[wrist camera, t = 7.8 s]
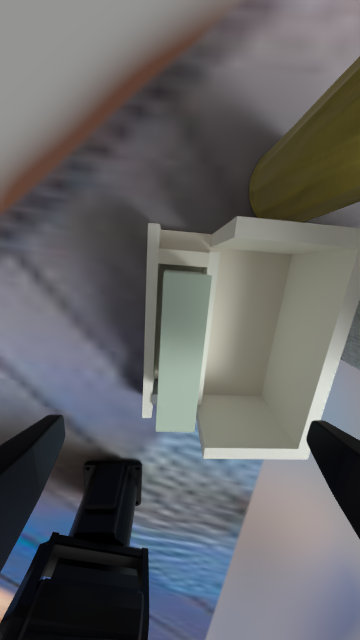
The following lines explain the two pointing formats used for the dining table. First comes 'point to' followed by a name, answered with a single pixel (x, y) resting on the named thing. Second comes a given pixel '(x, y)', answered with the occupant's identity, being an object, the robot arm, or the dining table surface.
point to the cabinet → (259, 328)
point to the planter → (353, 342)
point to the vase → (314, 159)
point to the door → (181, 348)
